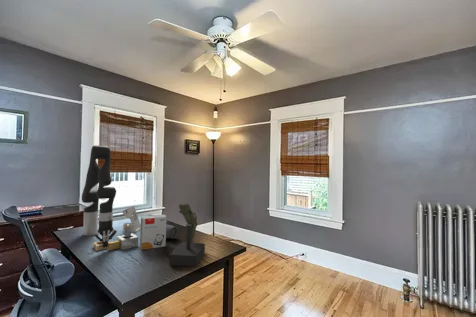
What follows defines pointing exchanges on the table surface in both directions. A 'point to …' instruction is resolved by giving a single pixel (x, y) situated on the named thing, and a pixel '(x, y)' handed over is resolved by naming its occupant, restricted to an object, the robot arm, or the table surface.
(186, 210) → the olive green upright piece
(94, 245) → the wooden square frame
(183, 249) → the joystick
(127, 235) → the grey metal cylinder
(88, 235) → the robot arm
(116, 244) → the bar
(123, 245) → the socket block
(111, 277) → the table surface
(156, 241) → the hard drive box
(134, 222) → the phone holder
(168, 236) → the bluetooth speaker
